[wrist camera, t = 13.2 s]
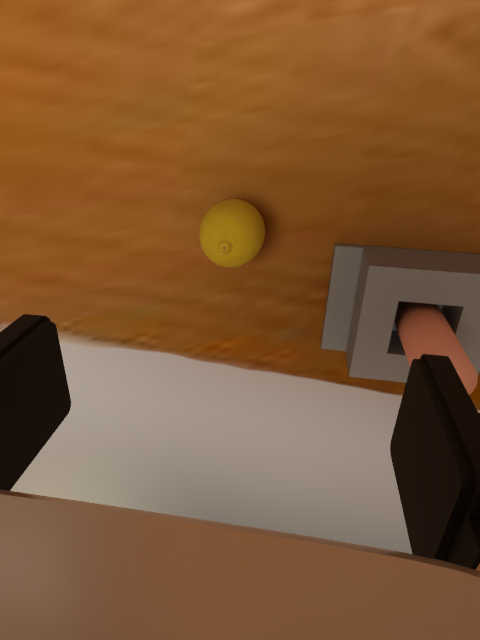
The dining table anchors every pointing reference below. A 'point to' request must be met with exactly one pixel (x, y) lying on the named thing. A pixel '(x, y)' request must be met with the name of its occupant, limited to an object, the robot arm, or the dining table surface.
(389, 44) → the dining table surface
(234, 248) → the lemon
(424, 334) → the peg
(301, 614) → the robot arm
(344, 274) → the socket
